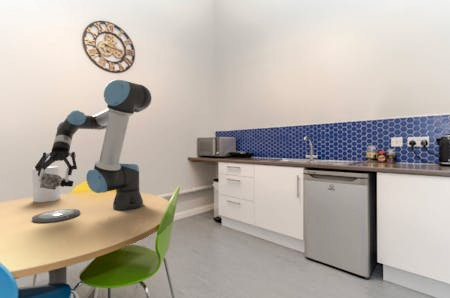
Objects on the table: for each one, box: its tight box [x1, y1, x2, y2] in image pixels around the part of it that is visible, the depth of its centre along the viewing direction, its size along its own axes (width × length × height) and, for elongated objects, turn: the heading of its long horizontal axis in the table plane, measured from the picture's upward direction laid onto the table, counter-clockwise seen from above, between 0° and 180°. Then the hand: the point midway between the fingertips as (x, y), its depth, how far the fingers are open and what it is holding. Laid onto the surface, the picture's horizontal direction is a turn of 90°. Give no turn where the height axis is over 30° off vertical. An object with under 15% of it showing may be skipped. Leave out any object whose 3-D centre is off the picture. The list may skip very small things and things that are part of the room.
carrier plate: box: [31, 208, 81, 224], centre depth 122 cm, size 19×19×1 cm
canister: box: [31, 165, 61, 203], centre depth 159 cm, size 14×14×20 cm
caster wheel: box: [40, 173, 74, 190], centre depth 123 cm, size 7×11×10 cm
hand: (53, 180), depth 119 cm, fingers closed on caster wheel, 10 cm apart
